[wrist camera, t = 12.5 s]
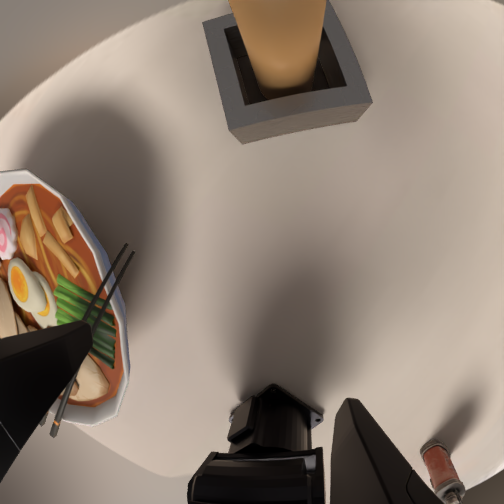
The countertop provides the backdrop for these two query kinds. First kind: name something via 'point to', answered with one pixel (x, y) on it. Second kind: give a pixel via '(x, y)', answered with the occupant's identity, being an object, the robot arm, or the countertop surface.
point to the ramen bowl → (63, 292)
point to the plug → (281, 42)
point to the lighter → (442, 472)
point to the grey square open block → (294, 106)
